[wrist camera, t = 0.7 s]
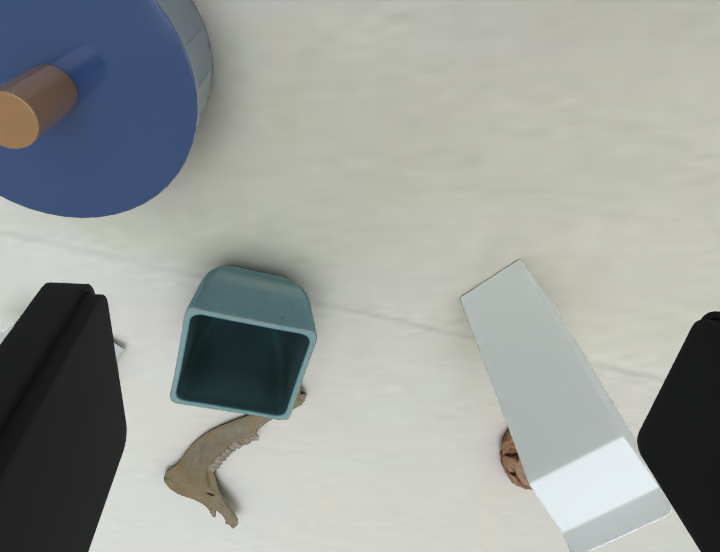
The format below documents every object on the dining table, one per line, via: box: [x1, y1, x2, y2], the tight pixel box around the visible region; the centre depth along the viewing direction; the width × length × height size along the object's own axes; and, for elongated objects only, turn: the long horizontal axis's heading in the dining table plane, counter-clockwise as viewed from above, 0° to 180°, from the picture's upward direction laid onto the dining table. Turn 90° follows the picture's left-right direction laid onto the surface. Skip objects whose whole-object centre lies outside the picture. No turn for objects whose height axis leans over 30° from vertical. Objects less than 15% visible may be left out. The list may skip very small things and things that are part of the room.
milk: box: [460, 259, 672, 552], centre depth 40 cm, size 6×6×22 cm
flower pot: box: [170, 266, 317, 420], centre depth 43 cm, size 9×9×9 cm
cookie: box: [500, 431, 532, 490], centre depth 58 cm, size 10×11×3 cm
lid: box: [0, 0, 199, 218], centre depth 28 cm, size 15×15×6 cm
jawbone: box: [164, 388, 307, 528], centre depth 56 cm, size 9×20×2 cm, turn 155°
